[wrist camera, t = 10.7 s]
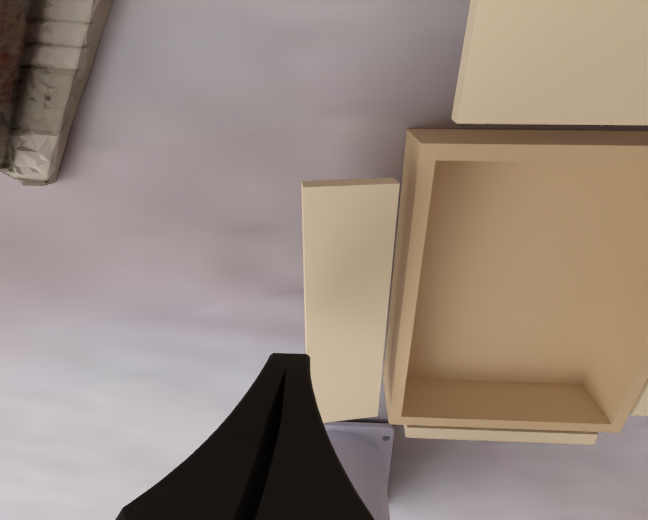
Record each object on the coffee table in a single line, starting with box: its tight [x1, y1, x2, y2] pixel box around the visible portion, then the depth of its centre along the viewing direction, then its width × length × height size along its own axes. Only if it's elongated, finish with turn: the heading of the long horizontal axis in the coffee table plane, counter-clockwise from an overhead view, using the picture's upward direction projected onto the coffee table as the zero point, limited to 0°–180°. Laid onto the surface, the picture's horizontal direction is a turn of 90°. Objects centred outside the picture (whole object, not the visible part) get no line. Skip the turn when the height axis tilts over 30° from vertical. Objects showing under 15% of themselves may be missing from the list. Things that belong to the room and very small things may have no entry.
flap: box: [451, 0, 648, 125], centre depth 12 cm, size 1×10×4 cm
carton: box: [383, 129, 648, 445], centre depth 19 cm, size 16×13×3 cm
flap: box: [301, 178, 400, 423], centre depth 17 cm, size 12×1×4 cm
